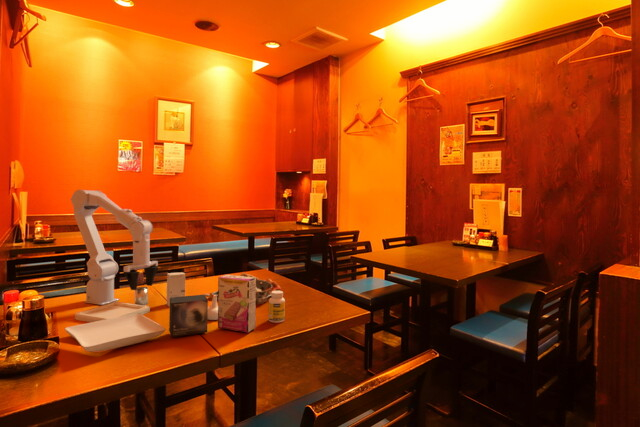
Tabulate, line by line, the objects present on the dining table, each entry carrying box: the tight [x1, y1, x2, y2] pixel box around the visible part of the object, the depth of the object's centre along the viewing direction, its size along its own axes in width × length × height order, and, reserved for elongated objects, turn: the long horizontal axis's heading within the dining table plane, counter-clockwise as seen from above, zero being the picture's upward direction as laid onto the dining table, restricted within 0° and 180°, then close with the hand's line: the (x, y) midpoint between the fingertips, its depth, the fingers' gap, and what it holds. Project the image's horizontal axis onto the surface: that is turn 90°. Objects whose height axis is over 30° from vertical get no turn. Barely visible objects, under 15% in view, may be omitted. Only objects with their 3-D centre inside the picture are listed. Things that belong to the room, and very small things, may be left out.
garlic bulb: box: [207, 295, 218, 321], centre depth 127 cm, size 6×6×8 cm
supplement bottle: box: [268, 290, 286, 324], centre depth 126 cm, size 5×5×10 cm
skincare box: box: [166, 271, 186, 308], centre depth 142 cm, size 6×4×12 cm
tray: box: [74, 301, 151, 323], centre depth 128 cm, size 16×16×2 cm
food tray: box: [203, 272, 282, 305], centre depth 152 cm, size 35×26×11 cm
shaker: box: [134, 286, 149, 306], centre depth 142 cm, size 4×4×6 cm
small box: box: [168, 294, 209, 338], centre depth 114 cm, size 11×6×10 cm, turn 117°
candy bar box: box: [217, 274, 257, 334], centre depth 117 cm, size 11×5×16 cm, turn 71°
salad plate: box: [64, 314, 167, 353], centre depth 108 cm, size 21×21×3 cm
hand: (141, 287), depth 142 cm, fingers open, 7 cm apart
